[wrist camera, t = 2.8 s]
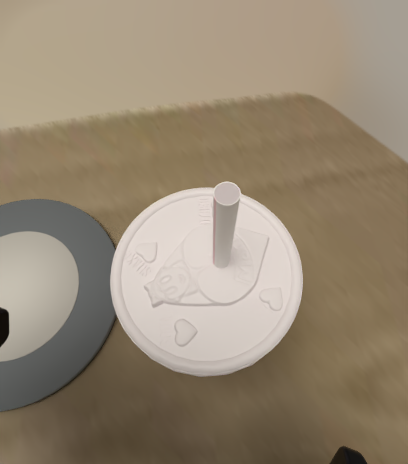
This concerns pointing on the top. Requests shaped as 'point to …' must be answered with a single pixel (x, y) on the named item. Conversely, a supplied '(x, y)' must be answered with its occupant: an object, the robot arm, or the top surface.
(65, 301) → the coaster
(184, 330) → the smoothie
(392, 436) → the top surface
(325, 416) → the top surface
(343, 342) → the top surface
